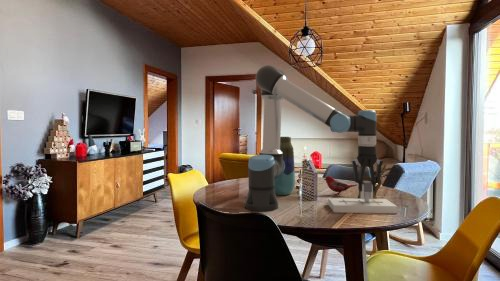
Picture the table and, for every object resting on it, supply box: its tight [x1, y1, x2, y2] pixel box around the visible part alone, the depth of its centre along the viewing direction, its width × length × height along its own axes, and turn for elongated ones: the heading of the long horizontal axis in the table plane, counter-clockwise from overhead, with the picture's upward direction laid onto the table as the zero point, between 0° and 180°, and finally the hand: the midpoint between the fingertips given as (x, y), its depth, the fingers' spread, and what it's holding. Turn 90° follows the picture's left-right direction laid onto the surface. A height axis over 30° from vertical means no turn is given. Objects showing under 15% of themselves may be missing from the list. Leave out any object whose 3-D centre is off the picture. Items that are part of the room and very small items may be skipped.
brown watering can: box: [356, 164, 387, 199], centre depth 158 cm, size 9×14×18 cm, turn 76°
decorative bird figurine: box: [323, 175, 358, 196], centre depth 170 cm, size 3×18×10 cm, turn 69°
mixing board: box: [327, 197, 398, 214], centre depth 141 cm, size 26×14×3 cm, turn 85°
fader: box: [362, 181, 372, 202], centre depth 140 cm, size 3×5×9 cm, turn 175°
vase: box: [274, 136, 296, 196], centre depth 174 cm, size 14×14×31 cm
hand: (366, 198), depth 140 cm, fingers closed on fader, 3 cm apart
